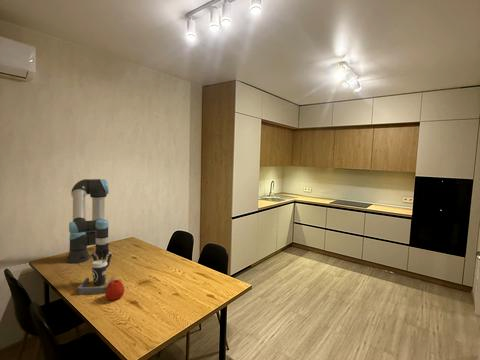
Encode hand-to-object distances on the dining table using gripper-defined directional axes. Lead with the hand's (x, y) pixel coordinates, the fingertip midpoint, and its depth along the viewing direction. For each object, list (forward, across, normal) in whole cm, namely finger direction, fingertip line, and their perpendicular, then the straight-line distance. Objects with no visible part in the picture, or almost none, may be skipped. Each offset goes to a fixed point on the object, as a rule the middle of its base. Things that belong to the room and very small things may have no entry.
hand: (102, 277), depth 174 cm
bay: (+2, 0, -9) cm, 10 cm away
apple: (+2, +15, -22) cm, 27 cm away
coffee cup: (+2, 0, -5) cm, 5 cm away
